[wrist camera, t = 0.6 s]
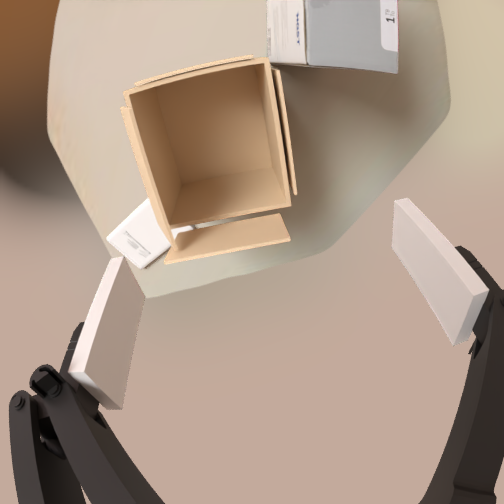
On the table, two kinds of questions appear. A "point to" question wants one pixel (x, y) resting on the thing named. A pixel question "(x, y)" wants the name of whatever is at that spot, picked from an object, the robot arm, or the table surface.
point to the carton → (216, 139)
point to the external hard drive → (142, 236)
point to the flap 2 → (228, 238)
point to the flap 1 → (146, 173)
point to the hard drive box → (334, 34)
